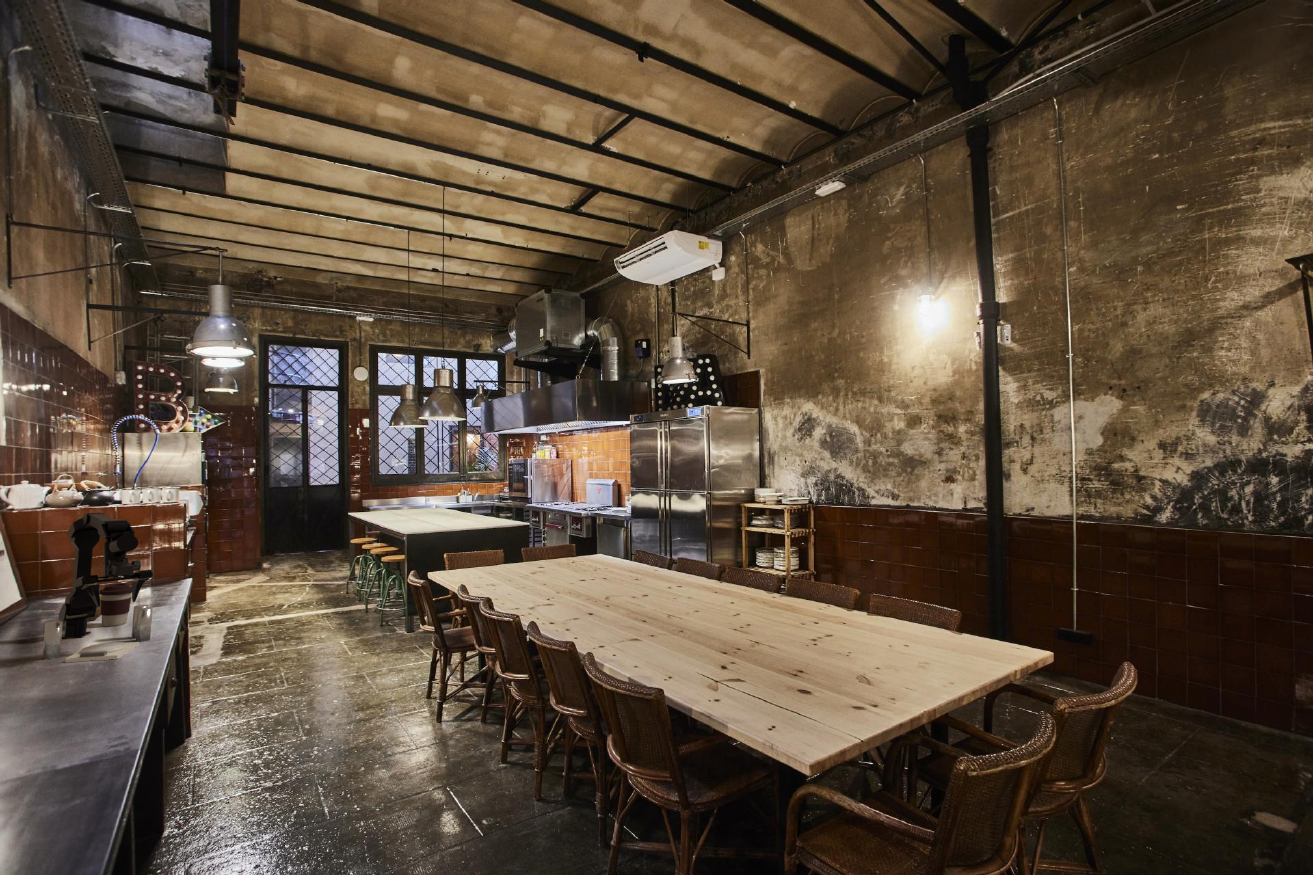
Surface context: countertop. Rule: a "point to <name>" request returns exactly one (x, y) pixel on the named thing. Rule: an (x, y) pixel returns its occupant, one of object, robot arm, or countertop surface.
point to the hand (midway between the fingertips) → (116, 604)
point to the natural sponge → (97, 613)
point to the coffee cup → (115, 604)
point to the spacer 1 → (52, 639)
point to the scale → (102, 651)
